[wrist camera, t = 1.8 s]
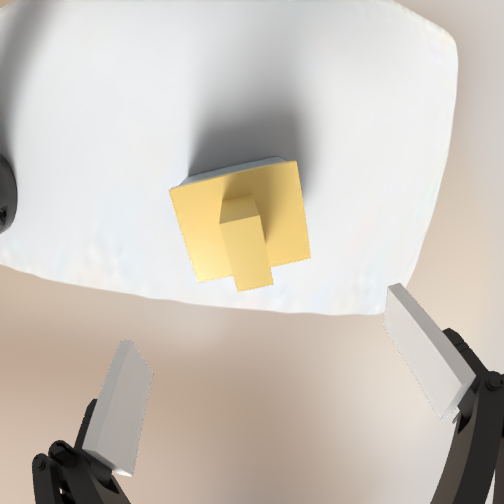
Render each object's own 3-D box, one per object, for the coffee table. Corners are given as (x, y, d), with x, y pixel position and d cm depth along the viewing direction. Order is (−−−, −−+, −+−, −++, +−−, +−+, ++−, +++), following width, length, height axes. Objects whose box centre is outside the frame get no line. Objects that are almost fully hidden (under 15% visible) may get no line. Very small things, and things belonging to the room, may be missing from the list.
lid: (200, 272, 32) (191, 323, 23) (173, 185, 27) (148, 210, 19) (305, 249, 31) (331, 293, 23) (291, 158, 27) (318, 172, 19)
